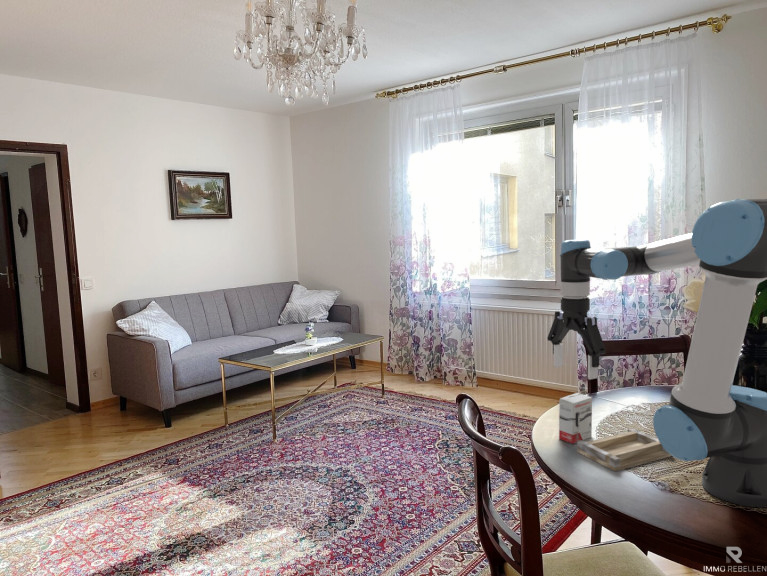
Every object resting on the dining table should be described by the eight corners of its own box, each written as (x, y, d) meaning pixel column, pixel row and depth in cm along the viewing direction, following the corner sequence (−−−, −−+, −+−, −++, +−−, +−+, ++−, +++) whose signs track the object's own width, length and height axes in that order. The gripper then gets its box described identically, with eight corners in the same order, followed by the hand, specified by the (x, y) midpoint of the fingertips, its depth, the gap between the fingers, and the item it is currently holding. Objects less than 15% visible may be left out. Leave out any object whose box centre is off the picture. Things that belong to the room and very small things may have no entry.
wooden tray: (672, 455, 141) (672, 444, 140) (615, 471, 134) (615, 459, 133) (631, 438, 153) (631, 427, 152) (577, 451, 146) (577, 440, 145)
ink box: (573, 444, 150) (573, 402, 149) (558, 439, 155) (558, 398, 153) (592, 436, 155) (592, 396, 154) (577, 431, 159) (577, 392, 158)
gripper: (621, 300, 140) (620, 381, 143) (555, 290, 163) (555, 360, 166) (598, 303, 137) (597, 386, 140) (534, 292, 160) (535, 363, 163)
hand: (574, 372), depth 153 cm, fingers open, 13 cm apart
